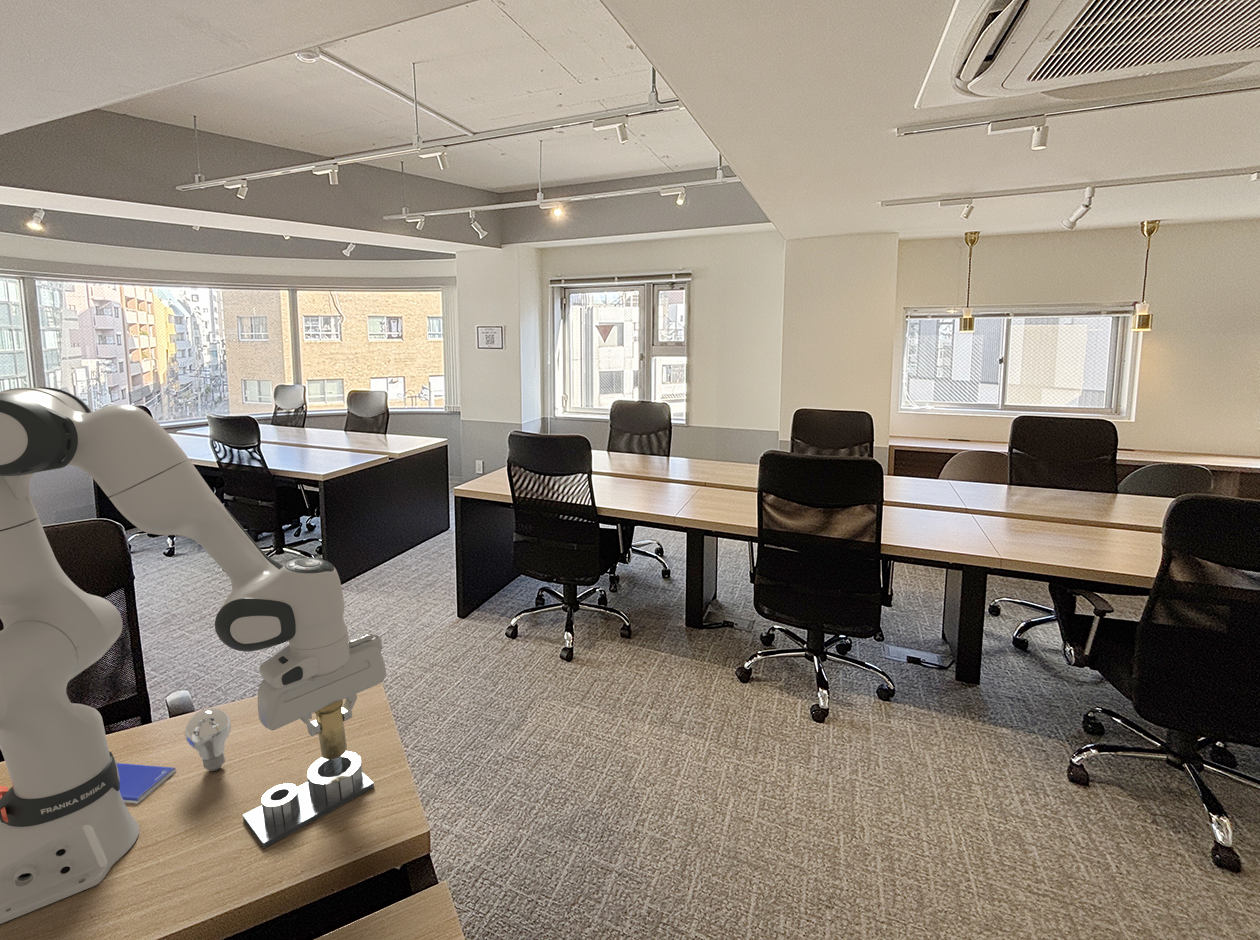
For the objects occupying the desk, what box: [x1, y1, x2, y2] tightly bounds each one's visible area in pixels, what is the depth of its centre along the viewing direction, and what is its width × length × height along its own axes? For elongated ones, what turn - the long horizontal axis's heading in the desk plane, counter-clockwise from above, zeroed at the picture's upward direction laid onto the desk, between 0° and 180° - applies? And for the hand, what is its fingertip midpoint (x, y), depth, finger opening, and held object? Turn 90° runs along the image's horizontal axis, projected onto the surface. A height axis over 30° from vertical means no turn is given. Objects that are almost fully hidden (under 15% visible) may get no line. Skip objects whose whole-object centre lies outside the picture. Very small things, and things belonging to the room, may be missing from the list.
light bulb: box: [184, 707, 232, 772], centre depth 117 cm, size 7×7×12 cm
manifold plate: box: [242, 750, 375, 849], centre depth 109 cm, size 18×9×4 cm, turn 138°
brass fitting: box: [313, 699, 348, 759], centre depth 110 cm, size 5×5×10 cm
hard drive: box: [116, 762, 177, 805], centre depth 115 cm, size 2×8×12 cm
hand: (330, 725), depth 110 cm, fingers closed on brass fitting, 4 cm apart
